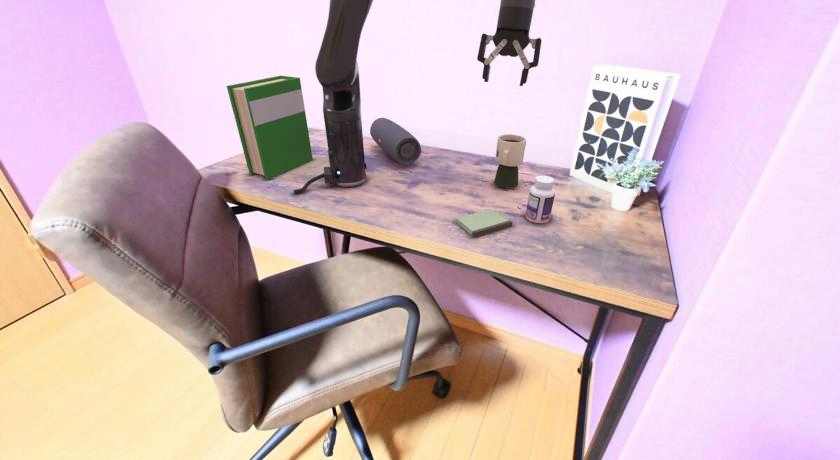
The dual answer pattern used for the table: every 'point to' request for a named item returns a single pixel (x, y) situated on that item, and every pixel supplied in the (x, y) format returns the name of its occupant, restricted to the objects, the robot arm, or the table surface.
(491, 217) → the notebook
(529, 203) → the pill bottle
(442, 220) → the table surface
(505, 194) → the table surface
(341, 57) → the robot arm
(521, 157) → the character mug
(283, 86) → the hardback book
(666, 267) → the table surface
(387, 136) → the bluetooth speaker
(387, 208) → the table surface
